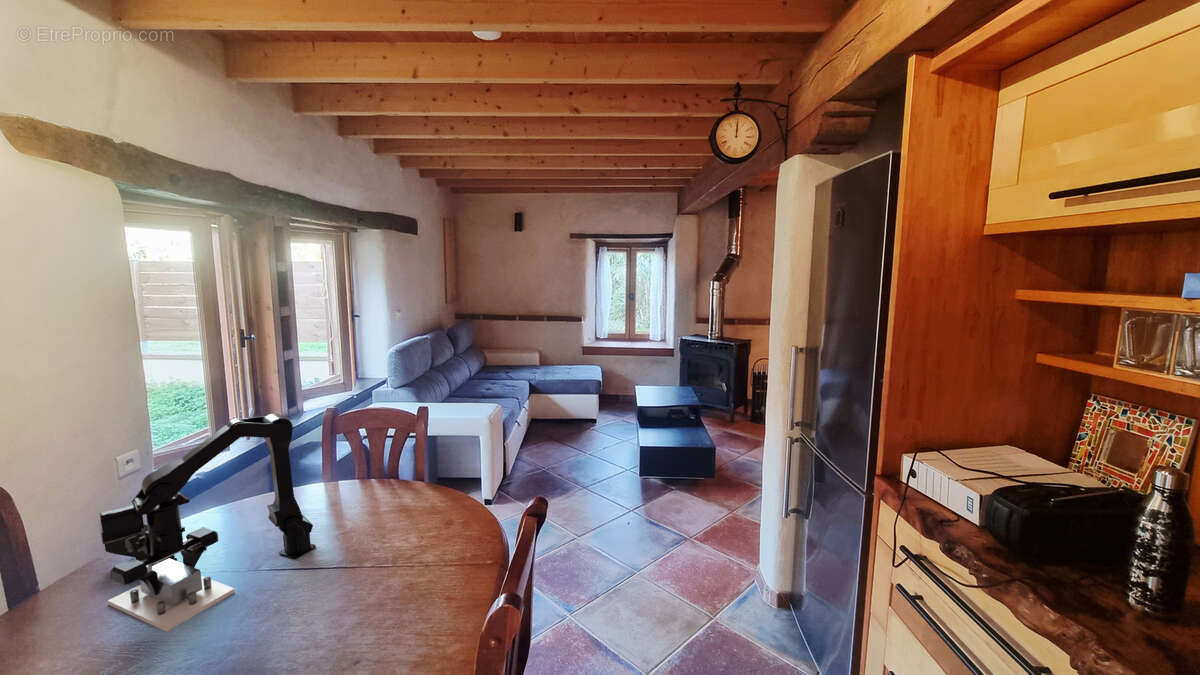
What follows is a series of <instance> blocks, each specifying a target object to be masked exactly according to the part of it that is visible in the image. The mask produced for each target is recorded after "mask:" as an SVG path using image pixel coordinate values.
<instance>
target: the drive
mask: <svg viewBox="0 0 1200 675" xmlns="http://www.w3.org/2000/svg"><path fill="white" fill-rule="evenodd" d="M177 561H178V560H177ZM177 561H175V560H172V559H167V560H165V561H162V562H160V563H157V564H155V565H153V566H152V570H153V571H156V572H157V574H158V588H159V591H158V595H157V596H155V595H153V594H152V592H151V591H150V590H149V588H148V587H147V586H146V584H145V583H144V582H143V581H139V583H140V584H139V585H141V592H143V593H145V594H148V595H150V596H152V597H155V598H157V599H159V600H162V601H165V602H166V603H168V604H171V605H175V604H177V603H179V602H180V601H182V600H184V599H186V598H188V594H189V593H190V592H193V591H195V592H196V593H197V592H199V591H200V590H202V580H201V576H202V572H201V569H198V568H196V567H195V568H193V567H191V566H188V565H185V564H183V562H181V561H178V562H177ZM180 562H181V563H180Z"/></svg>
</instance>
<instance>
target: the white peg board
mask: <svg viewBox="0 0 1200 675" xmlns="http://www.w3.org/2000/svg"><path fill="white" fill-rule="evenodd" d="M211 577H212V576H203V575H201V580H202V590H200V591H199V592H197V593H196V592H195V591H193V592H190V593H189V594H188V598H186V599H184V600H182V601H180V602H179V603H177V604H175V605H171V604H168V603H166V602H165V601H162V600H159V599H157V598H155V597H152V596H150V595H148V594H145V593H143V592H141V584H139V585H137V586H135V587H133V588H131V589H129V590H127V591H125V592H123V593H121V594H119V595H118V594H117V595H116V596H115V597H112V598H110V599H108V600H107V605H109V606H110V607H113V608H115V609H116V610H119V611H122V612H123V613H125V614H128V615H130V616H132V617H134V618H135V619H138V620H140V621H142V622H145V623H146V624H149V625H151V626H152V627H155V628H157V629H159V630H160V631H164V632H166V633H167V632H169V631H171V630H172V629H174V628H175V627H178V626H179V625H181V624H182V623H185V622H186V621H187V620H190V619H191V618H193V617H195V616H196V615H198V614H200V613H201V612H203V611H205V610H206V609H209V608H210V607H212V606H214V605H215V604H217V603H218V602H220V601H222V600H224V599H225V598H227V597H229V596H231V595H233V594H235V588H234V587H231V586H229V585H226V584H224V583H221V582H220V581H219V582H218V581H216V580H214V579H211Z"/></svg>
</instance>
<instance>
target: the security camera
mask: <svg viewBox="0 0 1200 675" xmlns="http://www.w3.org/2000/svg"><path fill="white" fill-rule="evenodd" d="M147 531H148V526H147V524H144V528H142V529H141V532H139V533H138V534H137V535H134V536H138V537H142V536H144V535H145V532H147ZM131 537H133V536H131ZM131 537H127V538H124V539H120V540H117V541H113V542H110V543H107V544H104V550H105V552H107V553H108V554H109V553H110V554H114V555H119V556H123V557H130V558H134V559H136V560H139V561H141V560H144V559H146V558H148V557H150V556H151V554H145V553H144V551H141V552H138V550H136V551H134V552H127V550H126V547H125V540H126V539H128V538H131ZM167 559H172V560H175V561H177V562H180V563H182V561H178V558H177V557H175V555H173V556H170V557H168V558H166V559H164V560H162V561H165V560H167ZM162 561H160V562H162ZM160 562H157V563H155V564H153V565H152V566H154V565H156V564H158V563H160Z"/></svg>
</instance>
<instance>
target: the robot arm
mask: <svg viewBox="0 0 1200 675" xmlns="http://www.w3.org/2000/svg"><path fill="white" fill-rule="evenodd" d="M293 430H294V426H293V422H292V421H291V420H289V419H288V418H286V416H285V417H284V416H283V415H281V414H280V413H275V412H274V413H270V414H267V415H265V416H251V417H247V418H232V419H231V420H228V422H227V423H225V424H224V426H222V427H221V428H220V429H219V430H217V431H216V432H214V433H213V434H211V435H210V436H209V437H208V438H206V439H205V440H204V441H202V442H201V443H200V444H198V445H197V446H195V447H194V448H193V449H192V450H190V451H189V452H188V453H186V454H185V455H184V456H182V457H181V458H179V459H177V460H175V461H172V462H170V463H168V464H165V465H162V466H161V467H160V468H157V469H155V470H154V471H152V472H150V473H149V474H147V475H146V476H145V477H144V478H143V479H142V481H141V489H140V490H139V491H138V493H137V494H136V495H135V496H134V497H133V499H132V501H131V503H132V504H131V505H128V506H124V507H119V508H116V509H112V510H111V509H110V510H106V511H101V512H100V513H99V520H100V522H99V524H98V525H99V531H100V532H99V533H100V538H101V542H102V545H105V544H107V543H110V542H113V541H117V540H120V539H124V538H127V537H131V536H133V537H131V538H128V539H126V540H125V547H126V550H127V552H134V551H136V550H138V552H141V551H144V553H145V554H151V556H150V557H148V558H146V559H144V560H141V561H139V560H136V558H134V557H131V558H130V559H128V560H127V559H126V560H125V561H122V562H121V563H119V564H116V565H114V566H112V567H111V569H110V572H109V573H110V580H113V581H115V582H117V583H120V584H122V585H131V584H132V583H134V582H136V581H139V582H140V581H143V582H144V583H145V584H146V586H147V587H148V588H149V590H150V591H151V592H152V594H153V595H155V596H157V595H158V591H159V588H158V574H157V572H156V571H153V570H152V565H153V564H155V563H157V562H160V561H162V560H164V559H166V558H168V557H170V556H173V555H174V556H175V555H176V554H179V553H180V554H181V556H182V563H183V564H185V565H188V566H191V567H193V568H196V565H197V563H198V561H199V560H200V559H201V556H202V555H203V554H204V552H206V551H207V549H208V547H209V546H212V545H214V544H216V543H218V542H219V541H220V540H219V533H218V532H217V531H215V530H212V529H210V528H207V527H201V528H197V529H196V530H193V531H191V532H189V533H187V535H186V536H185V539H184V540H183V538H184V537H183V533H184V532H186V527H185V526H182V521H181V520H182V519H181V513H180V512H181V510H180V506H181V505H185V504H188V503H190V502H191V501H190V499H189V497H188V496H187V495H186V494H183V493H181V492H180V491H181V490H182V489H183V488H184V487H185V486H186V484H187V483H188V482H189V480H190V479H191V478H192V477H193V475H195V473H196V472H198V471H199V470H200V469H202V468H203V467H204V466H205V465H207V464H208V463H209V462H211V461H212V460H213V459H214V458H216V457H217V456H218V455H220V454H221V453H222V452H224V450H226V449H228V447H230V446H231V445H233V444H234V443H236V441H238V440H239V439H241V438H246V437H247V438H248V437H249V438H260V439H261V438H263V439H264V441H265V443H266V444H267V447H268V450H269V457H270V466H271V473H272V474H271V475H272V482H273V491H274V500H273V503H272V504H267V505H266V506H267V511H268V520H269V521H270V522H271V523H272V524H273V525H274V526H275V527H276V528H277V529H279V530H280V532H282V534H283V535H282V539H283V549H282V550H280V551H279V553H278V554H279V555H280V556H284V557H287V558H290V559H293V560H296V559H298V558H300V557H302V556H303V555H305V554H307V553H308V552H310V551H312V550H313V549H316V547H317V546H316V544H314V543H311V532H312V530H313V527H314V524H312V522H310V520H308V518H307V517H305V515H304V514H302V511H301V509H300V506H299V504H298V501H297V500H296V497H295V492H294V484H293V476H292V475H293V474H292V467H291V458H290V444H291V443H292V439H293ZM143 516H145V517H146V525H147V526H148V531H147V532H145V535H144V536H142V537H138V536H134V535H137V534H138V533H139V532H141V529H142V528H144V525H145V523H144V517H143ZM157 564H158V563H157ZM155 565H156V564H155ZM153 566H154V565H153Z"/></svg>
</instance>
